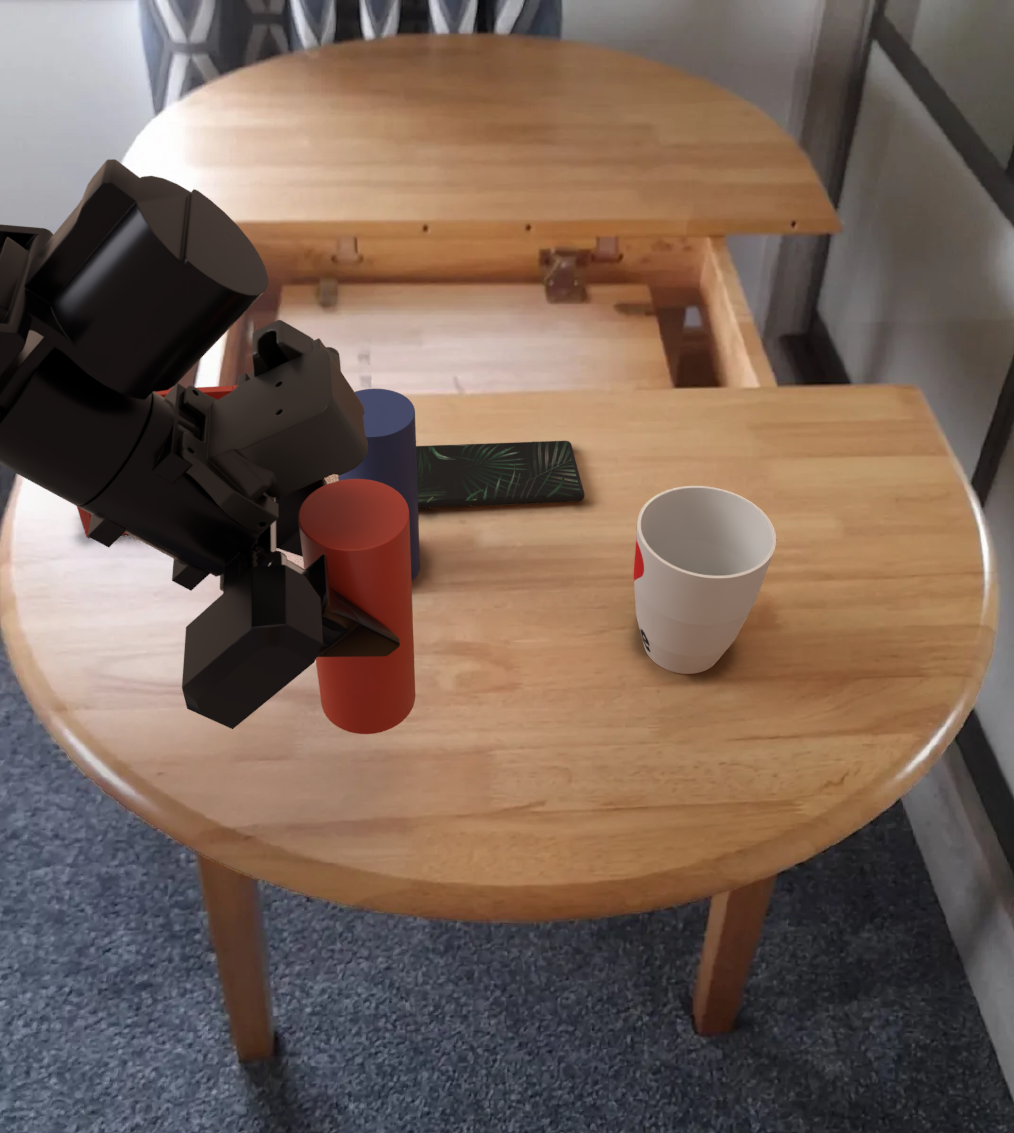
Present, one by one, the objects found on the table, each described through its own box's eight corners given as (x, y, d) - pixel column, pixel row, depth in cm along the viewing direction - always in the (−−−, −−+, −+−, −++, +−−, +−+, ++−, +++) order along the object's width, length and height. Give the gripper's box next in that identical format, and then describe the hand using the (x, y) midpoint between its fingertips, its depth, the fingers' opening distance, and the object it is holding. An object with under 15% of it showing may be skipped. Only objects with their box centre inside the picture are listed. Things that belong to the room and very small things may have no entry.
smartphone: (585, 495, 81) (379, 504, 80) (584, 505, 82) (379, 514, 80) (570, 438, 86) (375, 445, 85) (569, 448, 87) (376, 456, 85)
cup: (652, 584, 76) (672, 469, 69) (764, 630, 73) (796, 516, 67) (598, 659, 71) (613, 543, 64) (716, 712, 68) (745, 597, 61)
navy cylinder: (334, 581, 76) (318, 425, 67) (365, 535, 79) (353, 381, 70) (403, 599, 75) (395, 444, 66) (430, 552, 78) (427, 398, 69)
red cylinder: (305, 719, 58) (278, 534, 49) (345, 652, 62) (326, 468, 53) (393, 745, 57) (382, 561, 48) (429, 676, 61) (425, 492, 52)
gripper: (229, 468, 36) (543, 662, 45) (238, 207, 50) (479, 398, 59) (37, 653, 41) (359, 796, 50) (93, 368, 54) (339, 522, 63)
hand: (389, 609), depth 55 cm, fingers closed on red cylinder, 5 cm apart
